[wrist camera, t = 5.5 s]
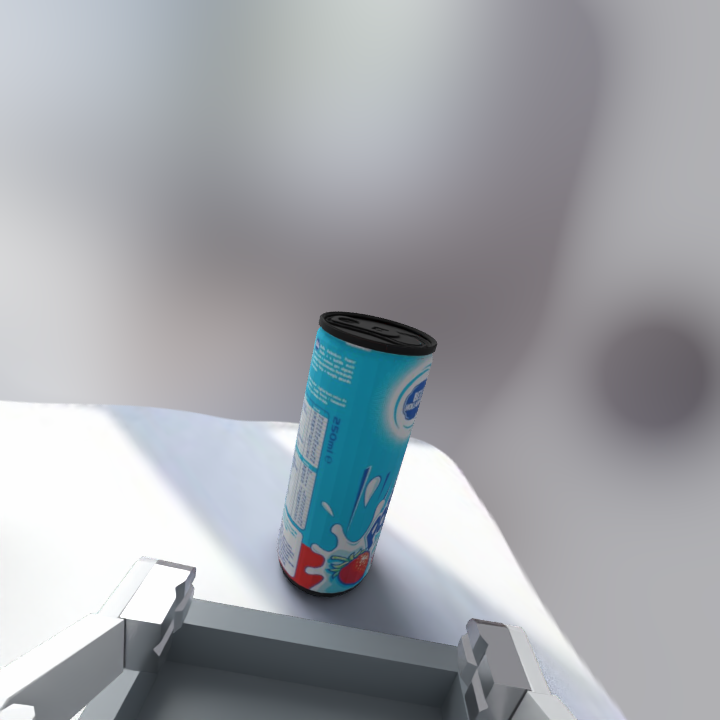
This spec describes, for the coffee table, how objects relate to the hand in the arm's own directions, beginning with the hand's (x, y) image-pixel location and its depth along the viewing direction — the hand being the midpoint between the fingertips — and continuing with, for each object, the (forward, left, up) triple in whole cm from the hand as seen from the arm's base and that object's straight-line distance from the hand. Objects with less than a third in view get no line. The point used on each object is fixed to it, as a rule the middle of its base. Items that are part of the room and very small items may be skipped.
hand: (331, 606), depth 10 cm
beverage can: (+9, 0, -9) cm, 13 cm away
